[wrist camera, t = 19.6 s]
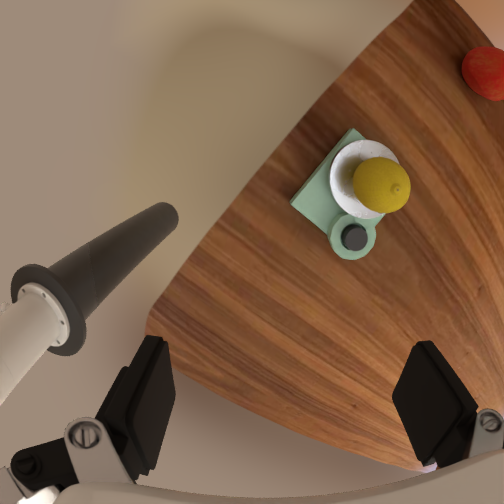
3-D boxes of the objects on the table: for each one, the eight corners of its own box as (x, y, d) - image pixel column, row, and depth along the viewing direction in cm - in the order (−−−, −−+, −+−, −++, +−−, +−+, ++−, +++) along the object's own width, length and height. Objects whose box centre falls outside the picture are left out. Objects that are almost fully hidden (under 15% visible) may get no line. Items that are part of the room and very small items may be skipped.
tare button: (353, 251, 34) (356, 256, 32) (337, 237, 33) (340, 241, 32) (368, 234, 33) (372, 238, 32) (352, 219, 33) (356, 222, 31)
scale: (346, 258, 37) (354, 268, 34) (284, 206, 35) (286, 212, 32) (406, 186, 34) (419, 190, 31) (349, 128, 32) (358, 126, 29)
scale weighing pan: (324, 213, 32) (325, 215, 31) (330, 134, 29) (332, 134, 28) (394, 220, 32) (397, 222, 31) (402, 146, 29) (405, 146, 28)
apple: (484, 112, 29) (531, 111, 19) (448, 80, 28) (494, 68, 18) (492, 74, 26) (535, 67, 16) (457, 42, 25) (499, 26, 15)
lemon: (397, 175, 29) (433, 183, 22) (372, 213, 31) (402, 233, 23) (360, 145, 29) (390, 145, 21) (334, 186, 30) (357, 198, 23)
